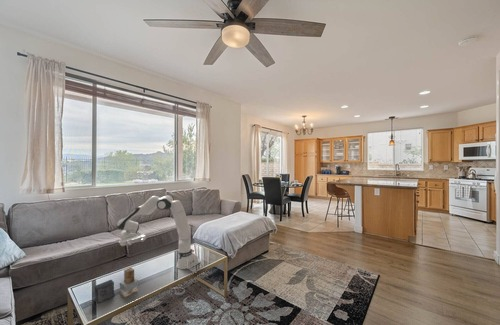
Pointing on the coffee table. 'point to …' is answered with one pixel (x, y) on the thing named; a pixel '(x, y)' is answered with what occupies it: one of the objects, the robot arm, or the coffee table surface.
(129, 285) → the tower top
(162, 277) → the coffee table surface
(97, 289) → the small box
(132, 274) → the walnut block
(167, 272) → the coffee table surface
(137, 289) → the tower base
